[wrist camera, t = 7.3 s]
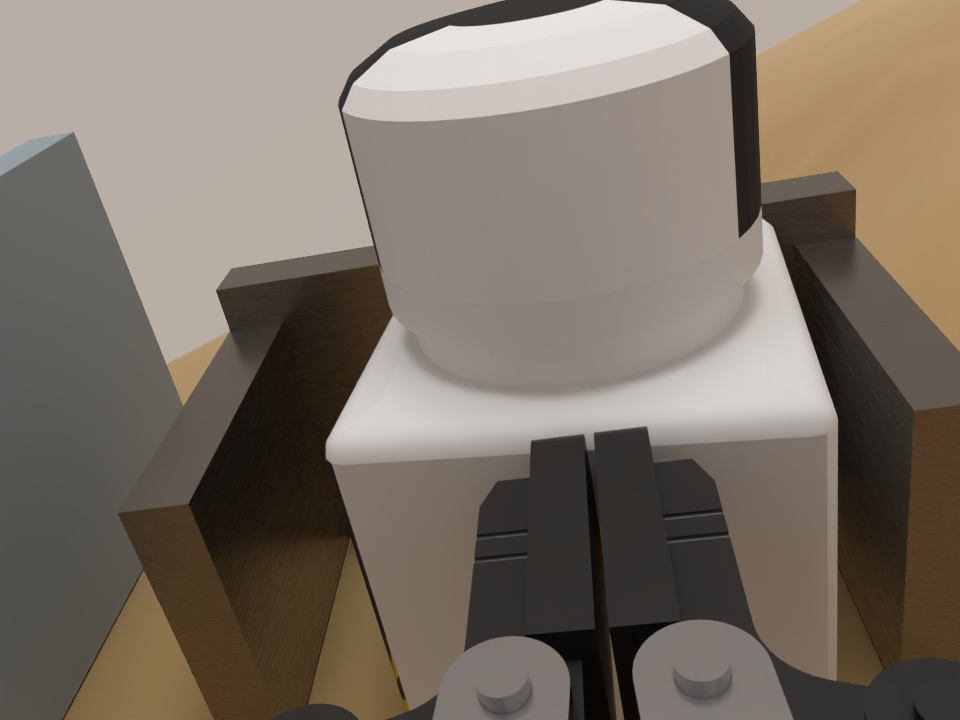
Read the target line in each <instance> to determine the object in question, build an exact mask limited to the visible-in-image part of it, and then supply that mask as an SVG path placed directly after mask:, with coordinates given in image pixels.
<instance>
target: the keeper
mask: <svg viewBox="0 0 960 720" xmlns="http://www.w3.org/2000/svg"><path fill="white" fill-rule="evenodd" d="M761 204H762V219H764V220H765V221H766V222H768V223H769V224H770V225H772V226H773V228H774V231H775V234H776V237H777V240H778V243H779V246H780V249H781V252H782V255H783V258H784V261H785V264H786V267H787V270H788V273H789V275H790V278H791V281H792V284H793V287H794V290H795V293H796V296H797V299H798V302H799V305H800V308H801V311H802V314H803V317H804V320H805V323H806V326H807V329H808V332H809V334H810V337H811V340H812V343H813V346H814V349H815V352H816V355H817V358H818V361H819V364H820V367H821V370H822V373H823V376H824V379H825V382H826V385H827V388H828V391H829V393H830V396H831V399H832V402H833V405H834V408H835V411H836V414H837V417H838V537H837V564H838V566H839V569H840V571H841V573H842V575H843V578H844V580H845V582H846V584H847V586H848V589H849V591H850V593H851V595H852V597H853V600H854V602H855V604H856V606H857V608H858V611H859V613H860V615H861V617H862V619H863V622H864V624H865V626H866V628H867V630H868V633H869V635H870V637H871V639H872V641H873V644H874V646H875V648H876V650H877V653H878V655H879V657H880V659H881V661H882V664H883V666H884V668H885V669H887V668H888V667H890V666H892V665H895V664H897V663H899V662H903V661H907V660H910V659H919V658H940V659H948V660H954V661H958V662H960V352H959V351H958V350H957V348H956V347H955V346H954V345H953V344H952V343H951V342H950V341H949V340H948V338H947V337H946V336H945V335H944V334H943V333H942V332H941V331H940V330H939V328H938V327H937V326H936V325H935V324H934V323H933V322H932V321H931V320H930V319H929V317H928V316H927V315H926V314H925V313H924V312H923V311H922V310H921V309H920V307H919V306H918V305H917V304H916V303H915V302H914V301H913V300H912V299H911V297H910V296H909V295H908V294H907V293H906V292H905V291H904V290H903V289H902V287H901V286H900V285H899V284H898V283H897V282H896V281H895V280H894V279H893V277H892V276H891V275H890V274H889V273H888V272H887V271H886V270H885V269H884V267H883V266H882V265H881V264H880V263H879V262H878V261H877V260H876V259H875V257H874V256H873V255H872V254H871V253H870V252H869V251H868V250H867V249H866V248H865V246H864V245H863V244H862V243H861V242H860V241H859V240H858V239H857V238H856V236H855V221H856V189H855V188H854V187H853V186H852V185H851V184H850V183H849V182H848V181H847V180H846V179H845V178H844V177H843V176H842V175H841V174H840V173H839V172H838V171H836V172H830V173H824V174H817V175H811V176H805V177H799V178H792V179H786V180H780V181H774V182H768V183H761ZM216 292H217V295H218V297H219V300H220V303H221V306H222V309H223V312H224V314H225V317H226V320H227V323H228V325H229V329H230V332H229V334H228V336H227V337H226V339H225V341H224V342H223V344H222V345H221V347H220V349H219V350H218V352H217V353H216V355H215V357H214V358H213V360H212V361H211V363H210V365H209V366H208V368H207V369H206V371H205V373H204V374H203V376H202V378H201V379H200V381H199V382H198V384H197V386H196V387H195V389H194V390H193V392H192V394H191V395H190V397H189V398H188V400H187V402H186V403H185V405H184V407H183V408H182V410H181V411H180V413H179V415H178V416H177V418H176V419H175V421H174V423H173V424H172V426H171V427H170V429H169V431H168V432H167V434H166V435H165V437H164V439H163V440H162V442H161V444H160V445H159V447H158V448H157V450H156V452H155V453H154V455H153V456H152V458H151V460H150V461H149V463H148V464H147V466H146V468H145V469H144V471H143V472H142V474H141V476H140V477H139V479H138V481H137V482H136V484H135V485H134V487H133V489H132V490H131V492H130V493H129V495H128V497H127V498H126V500H125V501H124V503H123V505H122V506H121V508H120V509H119V511H118V513H117V514H118V516H119V518H120V520H121V522H122V524H123V526H124V528H125V531H126V533H127V535H128V537H129V539H130V541H131V543H132V545H133V548H134V550H135V552H136V554H137V556H138V558H139V560H140V562H141V565H142V567H143V569H144V571H145V573H146V575H147V577H148V580H149V582H150V584H151V586H152V588H153V590H154V592H155V594H156V597H157V599H158V601H159V603H160V605H161V607H162V609H163V611H164V614H165V616H166V618H167V620H168V622H169V624H170V626H171V628H172V631H173V633H174V635H175V637H176V639H177V641H178V643H179V646H180V648H181V650H182V652H183V654H184V656H185V658H186V660H187V663H188V665H189V667H190V669H191V671H192V673H193V675H194V677H195V680H196V682H197V684H198V686H199V688H200V690H201V692H202V695H203V697H204V699H205V701H206V703H207V705H208V707H209V709H210V712H211V714H212V716H213V718H214V720H272V719H274V718H275V717H277V716H279V715H281V714H283V713H285V712H287V711H289V710H292V709H295V708H298V707H301V706H306V705H307V702H308V698H309V694H310V690H311V686H312V682H313V678H314V674H315V670H316V666H317V662H318V658H319V654H320V651H321V647H322V643H323V639H324V635H325V631H326V627H327V623H328V619H329V615H330V611H331V607H332V603H333V599H334V595H335V592H336V588H337V584H338V580H339V576H340V572H341V568H342V564H343V560H344V556H345V552H346V548H347V544H348V540H349V536H350V533H349V530H348V527H347V524H346V521H345V517H344V514H343V511H342V508H341V505H340V502H339V499H338V495H337V492H336V489H335V486H334V483H333V480H332V477H331V474H330V470H329V467H328V464H327V461H326V441H327V439H328V437H329V435H330V433H331V431H332V429H333V428H334V426H335V424H336V422H337V420H338V418H339V416H340V414H341V412H342V411H343V409H344V407H345V405H346V403H347V401H348V399H349V397H350V395H351V394H352V392H353V390H354V388H355V386H356V384H357V382H358V380H359V378H360V377H361V375H362V373H363V371H364V369H365V367H366V365H367V363H368V361H369V360H370V358H371V356H372V354H373V352H374V350H375V348H376V346H377V344H378V343H379V341H380V339H381V337H382V335H383V333H384V331H385V329H386V327H387V326H388V324H389V322H390V320H391V318H392V316H393V313H392V311H391V309H390V307H389V303H388V299H387V295H386V291H385V287H384V283H383V279H382V275H381V271H380V267H379V264H378V260H377V256H376V252H375V248H374V246H369V247H364V248H357V249H351V250H344V251H339V252H332V253H326V254H320V255H314V256H307V257H301V258H295V259H289V260H282V261H276V262H270V263H264V264H257V265H251V266H245V267H239V268H232V269H231V270H230V272H229V273H228V274H227V276H226V277H225V279H224V280H223V281H222V283H221V284H220V286H219V287H218V289H217V290H216Z"/></svg>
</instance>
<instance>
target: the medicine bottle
mask: <svg viewBox="0 0 960 720" xmlns="http://www.w3.org/2000/svg"><path fill="white" fill-rule="evenodd" d="M338 106H339V110H340V114H341V118H342V122H343V126H344V129H345V134H346V138H347V142H348V146H349V149H350V153H351V157H352V161H353V165H354V169H355V173H356V177H357V181H358V185H359V189H360V193H361V197H362V201H363V205H364V208H365V212H366V216H367V220H368V224H369V228H370V232H371V236H372V240H373V244H374V248H375V252H376V256H377V260H378V264H379V267H380V271H381V275H382V279H383V283H384V287H385V291H386V295H387V299H388V303H389V307H390V309H391V311H392V313H393V316H392V318H391V320H390V322H389V324H388V326H387V327H386V329H385V331H384V333H383V335H382V337H381V339H380V341H379V343H378V344H377V346H376V348H375V350H374V352H373V354H372V356H371V358H370V360H369V361H368V363H367V365H366V367H365V369H364V371H363V373H362V375H361V377H360V378H359V380H358V382H357V384H356V386H355V388H354V390H353V392H352V394H351V395H350V397H349V399H348V401H347V403H346V405H345V407H344V409H343V411H342V412H341V414H340V416H339V418H338V420H337V422H336V424H335V426H334V428H333V429H332V431H331V433H330V435H329V437H328V439H327V441H326V461H327V464H328V467H329V470H330V474H331V477H332V480H333V483H334V486H335V489H336V492H337V495H338V499H339V502H340V505H341V508H342V511H343V514H344V517H345V521H346V524H347V527H348V530H349V533H350V536H351V539H352V542H353V546H354V549H355V552H356V555H357V558H358V561H359V564H360V568H361V571H362V574H363V577H364V580H365V583H366V586H367V590H368V593H369V596H370V599H371V602H372V605H373V608H374V611H375V615H376V618H377V621H378V624H379V627H380V630H381V633H382V637H383V640H384V643H385V646H386V649H387V652H388V655H389V659H390V662H391V665H392V668H393V671H394V674H395V677H396V680H397V684H398V687H399V690H400V693H401V696H402V699H403V702H404V706H405V709H406V712H408V711H410V710H413V709H415V708H417V707H419V706H420V705H422V704H424V703H426V702H427V701H429V700H430V699H431V698H433V697H434V696H435V695H437V694H438V692H439V687H440V684H441V681H442V678H443V677H444V675H445V673H446V671H447V669H448V668H449V667H450V666H451V664H452V663H453V662H454V661H455V660H456V659H457V658H458V657H459V656H460V655H461V654H463V653H464V649H465V639H466V630H467V620H468V611H469V602H470V592H471V583H472V573H473V564H474V563H475V560H474V554H475V545H476V540H477V526H478V517H479V507H480V506H481V504H482V503H483V501H484V500H485V498H486V497H487V495H488V494H489V492H490V491H491V489H492V488H493V487H494V485H495V484H496V482H497V481H503V480H511V479H520V478H529V477H530V447H531V440H537V439H546V438H554V437H562V436H571V435H579V434H584V436H585V440H586V446H587V452H588V458H589V464H590V470H591V476H592V483H593V489H594V495H595V501H596V508H597V514H598V520H599V527H600V534H601V521H600V508H599V495H598V483H597V470H596V457H595V444H594V432H602V431H610V430H619V429H627V428H635V427H643V426H647V428H648V434H649V440H650V445H651V451H652V457H653V463H658V462H667V461H675V460H684V459H693V460H694V461H695V462H696V463H697V464H698V465H699V466H700V467H701V468H703V469H704V470H705V471H706V472H707V473H708V474H709V475H710V476H711V477H712V478H713V479H714V480H715V483H716V486H717V490H718V494H719V498H720V501H721V505H722V509H723V514H724V516H725V520H726V524H727V527H728V531H729V537H730V539H731V542H732V546H733V550H734V554H735V557H736V561H737V565H738V569H739V572H740V576H741V580H742V584H743V587H744V591H745V595H746V598H747V602H748V606H749V610H750V613H751V617H752V621H753V624H754V627H755V629H756V632H757V634H758V636H759V637H760V639H761V640H762V642H763V643H764V644H765V645H766V647H767V648H768V649H769V650H770V651H771V652H772V653H773V654H775V655H776V656H777V657H778V658H779V659H781V660H782V661H784V662H785V663H787V664H788V665H790V666H792V667H794V668H796V669H798V670H800V671H802V672H805V673H808V674H810V675H813V676H816V677H820V678H825V679H829V680H834V681H837V537H838V417H837V414H836V411H835V408H834V405H833V402H832V399H831V396H830V393H829V391H828V388H827V385H826V382H825V379H824V376H823V373H822V370H821V367H820V364H819V361H818V358H817V355H816V352H815V349H814V346H813V343H812V340H811V337H810V334H809V332H808V329H807V326H806V323H805V320H804V317H803V314H802V311H801V308H800V305H799V302H798V299H797V296H796V293H795V290H794V287H793V284H792V281H791V278H790V275H789V273H788V270H787V267H786V264H785V261H784V258H783V255H782V252H781V249H780V246H779V243H778V240H777V237H776V234H775V231H774V228H773V226H772V225H770V224H769V223H768V222H766V221H765V220H764V219H762V204H761V178H760V151H759V125H758V98H757V72H756V45H755V29H754V25H753V24H752V23H751V22H750V21H749V20H748V19H747V17H746V16H745V15H744V14H743V13H742V12H741V11H740V10H739V9H738V8H737V7H736V6H735V4H733V3H732V2H731V1H729V0H505V1H500V2H496V3H492V4H488V5H485V6H481V7H478V8H474V9H470V10H466V11H462V12H458V13H455V14H451V15H448V16H445V17H442V18H438V19H435V20H432V21H429V22H426V23H423V24H420V25H417V26H415V27H412V28H410V29H407V30H405V31H403V32H401V33H399V34H397V35H395V36H393V37H392V38H390V39H389V40H388V41H387V42H386V43H384V44H383V45H382V46H381V47H380V48H379V49H377V50H376V51H375V52H374V53H373V54H371V55H370V56H369V57H368V58H367V59H366V60H364V61H363V62H362V63H361V64H360V65H359V66H358V67H356V68H355V69H354V70H353V71H352V73H351V74H350V75H349V78H348V80H347V82H346V85H345V87H344V89H343V92H342V94H341V96H340V99H339V104H338ZM601 541H602V534H601ZM602 549H603V546H602ZM610 643H611V637H610ZM611 655H612V668H613V680H614V693H615V705H616V718H617V720H624V716H623V710H622V703H621V697H620V691H619V685H618V679H617V673H616V667H615V661H614V655H613V649H612V643H611Z"/></svg>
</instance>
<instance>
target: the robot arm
mask: <svg viewBox="0 0 960 720" xmlns="http://www.w3.org/2000/svg"><path fill="white" fill-rule="evenodd" d="M594 444H595V457H596V470H597V483H598V495H599V508H600V521H601V534H602V541H601V534H600V527H599V520H598V514H597V508H596V501H595V495H594V489H593V483H592V476H591V470H590V464H589V458H588V452H587V446H586V440H585V436H584V434H579V435H571V436H562V437H554V438H546V439H537V440H531V447H530V477H529V478H520V479H511V480H503V481H497V482H496V484H495V485H494V487H493V488H492V489H491V491H490V492H489V494H488V495H487V497H486V498H485V500H484V501H483V503H482V504H481V506H480V507H479V517H478V526H477V540H476V545H475V554H474V560H475V563H474V564H473V573H472V583H471V592H470V602H469V611H468V620H467V630H466V639H465V649H464V653H463V654H461V655H460V656H459V657H458V658H457V659H456V660H455V661H454V662H453V663H452V664H451V666H450V667H449V668H448V669H447V671H446V673H445V675H444V677H443V678H442V681H441V684H440V687H439V692H438V694H437V695H435V696H434V697H433V698H431V699H430V700H429V701H427V702H426V703H424V704H422V705H420V706H419V707H417V708H415V709H413V710H410V711H408V712H406V713H403V714H400V715H398V716H395V717H392V718H390V719H387V720H617V718H616V705H615V693H614V680H613V668H612V655H611V643H612V649H613V655H614V661H615V667H616V673H617V679H618V685H619V691H620V697H621V703H622V710H623V716H624V720H960V662H958V661H954V660H948V659H940V658H919V659H910V660H907V661H903V662H899V663H897V664H895V665H892V666H890V667H888V668H887V669H885V670H884V671H882V672H881V673H880V674H879V675H878V676H877V677H876V678H875V679H874V680H873V681H872V683H871V685H870V686H869V687H866V686H861V685H856V684H850V683H845V682H839V681H834V680H829V679H825V678H820V677H816V676H813V675H810V674H808V673H805V672H802V671H800V670H798V669H796V668H794V667H792V666H790V665H788V664H787V663H785V662H784V661H782V660H781V659H779V658H778V657H777V656H776V655H775V654H773V653H772V652H771V651H770V650H769V649H768V648H767V647H766V645H765V644H764V643H763V642H762V640H761V639H760V637H759V636H758V634H757V632H756V629H755V627H754V624H753V621H752V617H751V613H750V610H749V606H748V602H747V598H746V595H745V591H744V587H743V584H742V580H741V576H740V572H739V569H738V565H737V561H736V557H735V554H734V550H733V546H732V542H731V539H730V537H729V531H728V527H727V524H726V520H725V516H724V514H723V509H722V505H721V501H720V498H719V494H718V490H717V486H716V483H715V480H714V479H713V478H712V477H711V476H710V475H709V474H708V473H707V472H706V471H705V470H704V469H703V468H701V467H700V466H699V465H698V464H697V463H696V462H695V461H694V460H693V459H684V460H675V461H667V462H658V463H653V457H652V451H651V445H650V440H649V434H648V428H647V426H643V427H635V428H627V429H619V430H610V431H602V432H594ZM602 546H603V549H602ZM610 637H611V643H610ZM272 720H358V718H357V717H356V716H354V715H353V714H352V713H351V712H349V711H348V710H346V709H344V708H342V707H338V706H335V705H329V704H311V705H306V706H301V707H298V708H295V709H292V710H289V711H287V712H285V713H283V714H281V715H279V716H277V717H275V718H274V719H272Z"/></svg>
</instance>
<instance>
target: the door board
mask: <svg viewBox="0 0 960 720" xmlns="http://www.w3.org/2000/svg"><path fill="white" fill-rule="evenodd" d="M182 408H183V405H182V403H181V400H180V397H179V395H178V392H177V390H176V387H175V385H174V382H173V380H172V377H171V375H170V372H169V370H168V367H167V365H166V362H165V360H164V357H163V355H162V353H161V350H160V347H159V345H158V342H157V340H156V337H155V335H154V332H153V330H152V327H151V325H150V322H149V320H148V317H147V315H146V312H145V310H144V307H143V305H142V302H141V300H140V297H139V295H138V292H137V290H136V287H135V284H134V282H133V280H132V277H131V275H130V272H129V270H128V267H127V264H126V262H125V260H124V257H123V254H122V252H121V249H120V247H119V244H118V242H117V239H116V237H115V234H114V232H113V229H112V227H111V224H110V222H109V219H108V217H107V214H106V212H105V209H104V207H103V204H102V202H101V199H100V197H99V194H98V192H97V189H96V187H95V184H94V182H93V179H92V177H91V174H90V171H89V169H88V167H87V164H86V161H85V159H84V156H83V154H82V151H81V149H80V147H79V144H78V142H77V139H76V136H75V134H74V132H71V133H66V134H60V135H54V136H50V137H44V138H38V139H33V140H29V141H27V142H26V143H24V144H22V145H20V146H18V147H17V148H15V149H13V150H11V151H9V152H8V153H6V154H4V155H2V156H0V720H62V719H63V717H64V715H65V713H66V711H67V710H68V708H69V706H70V704H71V702H72V700H73V698H74V696H75V695H76V693H77V691H78V689H79V687H80V685H81V683H82V682H83V680H84V678H85V676H86V674H87V672H88V670H89V668H90V667H91V665H92V663H93V661H94V659H95V657H96V655H97V654H98V652H99V650H100V648H101V646H102V644H103V642H104V640H105V639H106V637H107V635H108V633H109V631H110V629H111V627H112V626H113V624H114V622H115V620H116V618H117V616H118V614H119V612H120V611H121V609H122V607H123V605H124V603H125V601H126V599H127V598H128V596H129V594H130V592H131V590H132V588H133V586H134V585H135V583H136V581H137V579H138V577H139V575H140V573H141V571H142V570H143V567H142V565H141V562H140V560H139V558H138V556H137V554H136V552H135V550H134V548H133V545H132V543H131V541H130V539H129V537H128V535H127V533H126V531H125V528H124V526H123V524H122V522H121V520H120V518H119V516H118V514H117V513H118V511H119V509H120V508H121V506H122V505H123V503H124V501H125V500H126V498H127V497H128V495H129V493H130V492H131V490H132V489H133V487H134V485H135V484H136V482H137V481H138V479H139V477H140V476H141V474H142V472H143V471H144V469H145V468H146V466H147V464H148V463H149V461H150V460H151V458H152V456H153V455H154V453H155V452H156V450H157V448H158V447H159V445H160V444H161V442H162V440H163V439H164V437H165V435H166V434H167V432H168V431H169V429H170V427H171V426H172V424H173V423H174V421H175V419H176V418H177V416H178V415H179V413H180V411H181V410H182Z"/></svg>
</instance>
